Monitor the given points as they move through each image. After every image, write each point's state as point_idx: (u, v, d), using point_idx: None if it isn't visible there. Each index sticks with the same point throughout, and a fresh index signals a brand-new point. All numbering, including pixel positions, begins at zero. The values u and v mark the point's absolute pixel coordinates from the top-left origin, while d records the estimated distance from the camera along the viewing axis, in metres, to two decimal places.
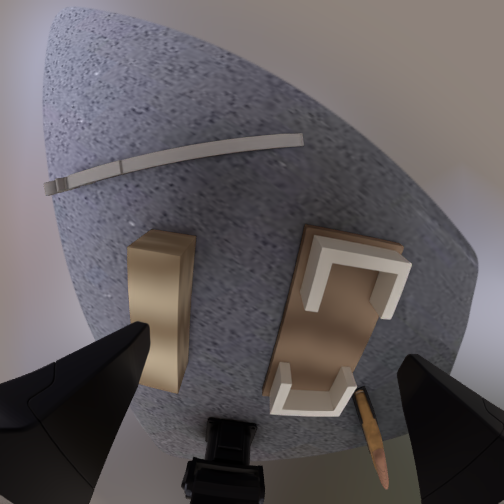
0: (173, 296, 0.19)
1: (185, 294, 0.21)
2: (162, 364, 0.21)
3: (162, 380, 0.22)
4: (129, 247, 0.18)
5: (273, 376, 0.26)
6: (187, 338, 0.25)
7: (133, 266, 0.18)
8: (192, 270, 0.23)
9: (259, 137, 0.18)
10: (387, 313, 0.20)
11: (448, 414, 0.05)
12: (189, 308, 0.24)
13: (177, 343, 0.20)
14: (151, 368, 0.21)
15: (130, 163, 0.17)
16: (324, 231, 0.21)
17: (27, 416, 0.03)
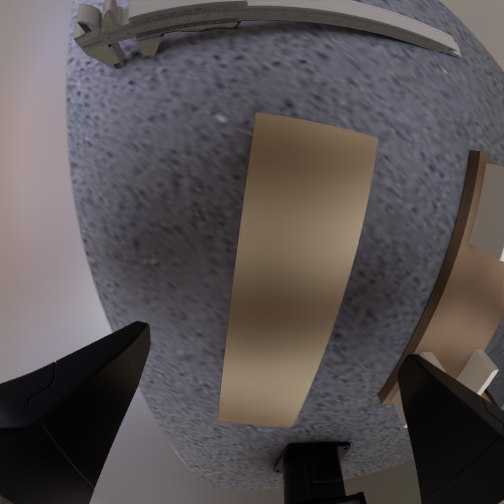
0: (351, 228, 0.09)
1: None
2: (281, 383, 0.11)
3: (271, 410, 0.12)
4: (261, 114, 0.08)
5: None
6: None
7: (266, 157, 0.08)
8: None
9: (430, 27, 0.08)
10: None
11: (448, 414, 0.05)
12: None
13: None
14: (255, 393, 0.11)
15: None
16: (493, 161, 0.11)
17: (27, 416, 0.03)
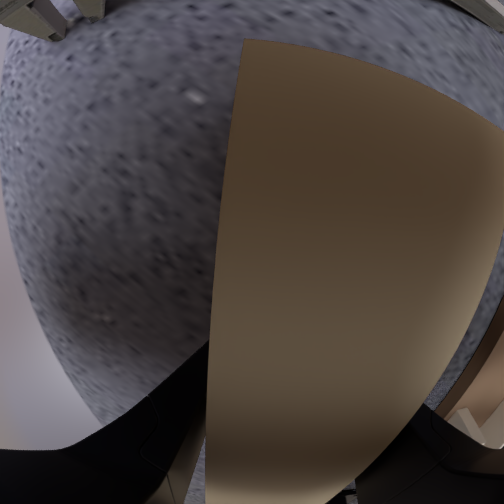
0: (452, 332, 0.03)
1: None
2: (289, 502, 0.06)
3: None
4: (259, 43, 0.02)
5: None
6: None
7: (276, 168, 0.03)
8: None
9: None
10: None
11: None
12: None
13: None
14: None
15: None
16: None
17: (148, 471, 0.03)
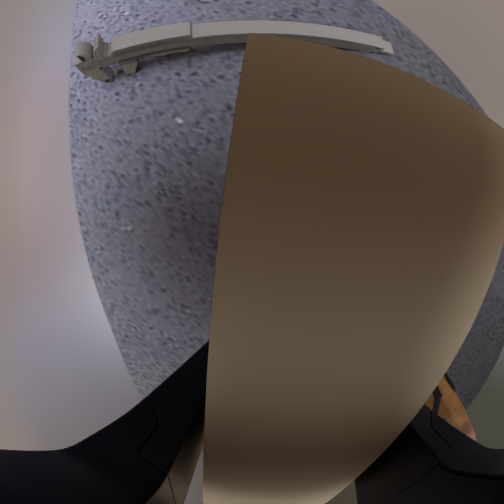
0: (454, 333, 0.03)
1: None
2: (287, 503, 0.06)
3: None
4: (263, 38, 0.02)
5: None
6: None
7: (280, 163, 0.03)
8: None
9: (355, 32, 0.12)
10: None
11: None
12: None
13: None
14: None
15: (203, 28, 0.11)
16: None
17: (149, 471, 0.03)
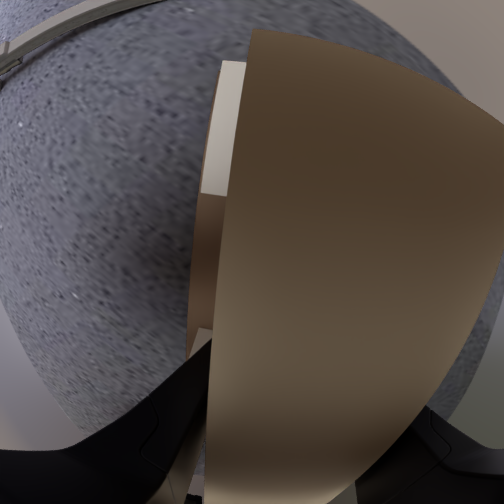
0: (457, 331, 0.03)
1: None
2: (289, 503, 0.06)
3: None
4: (267, 34, 0.02)
5: None
6: None
7: (283, 160, 0.02)
8: None
9: None
10: None
11: None
12: None
13: None
14: None
15: (16, 42, 0.07)
16: None
17: (149, 471, 0.03)
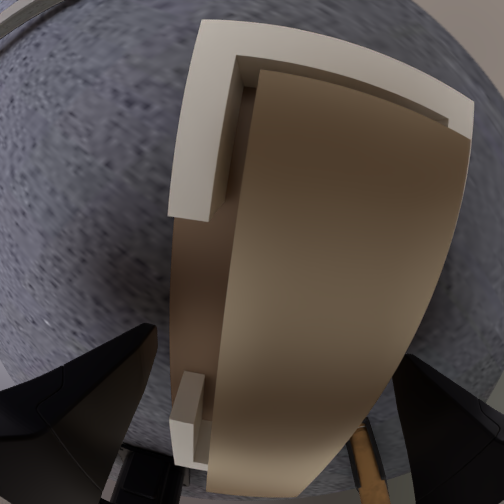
0: (419, 292, 0.04)
1: None
2: (286, 469, 0.07)
3: (271, 487, 0.08)
4: (270, 73, 0.03)
5: None
6: None
7: (279, 159, 0.04)
8: None
9: None
10: None
11: (443, 415, 0.05)
12: None
13: None
14: (252, 476, 0.07)
15: None
16: None
17: (36, 422, 0.03)
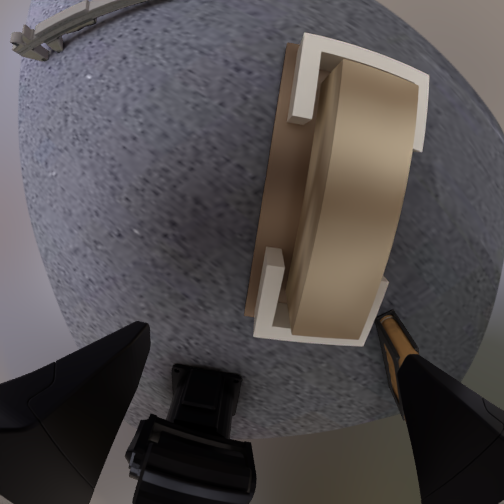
0: (407, 141, 0.10)
1: None
2: (356, 281, 0.13)
3: (343, 316, 0.14)
4: (346, 60, 0.09)
5: (258, 276, 0.18)
6: None
7: (351, 87, 0.10)
8: None
9: None
10: (414, 139, 0.12)
11: (448, 414, 0.05)
12: None
13: None
14: (333, 294, 0.13)
15: (97, 2, 0.10)
16: None
17: (27, 416, 0.03)
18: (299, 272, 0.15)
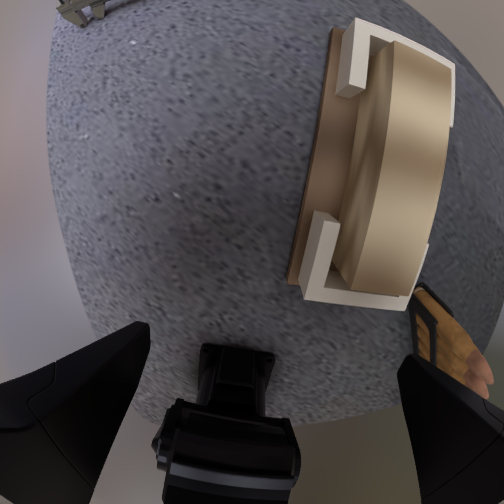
0: (445, 113, 0.10)
1: None
2: (410, 233, 0.13)
3: (397, 270, 0.13)
4: (396, 41, 0.09)
5: (304, 240, 0.18)
6: None
7: (401, 63, 0.10)
8: None
9: None
10: None
11: (448, 414, 0.05)
12: None
13: (438, 190, 0.12)
14: (390, 245, 0.13)
15: None
16: None
17: (27, 416, 0.03)
18: (354, 228, 0.15)
